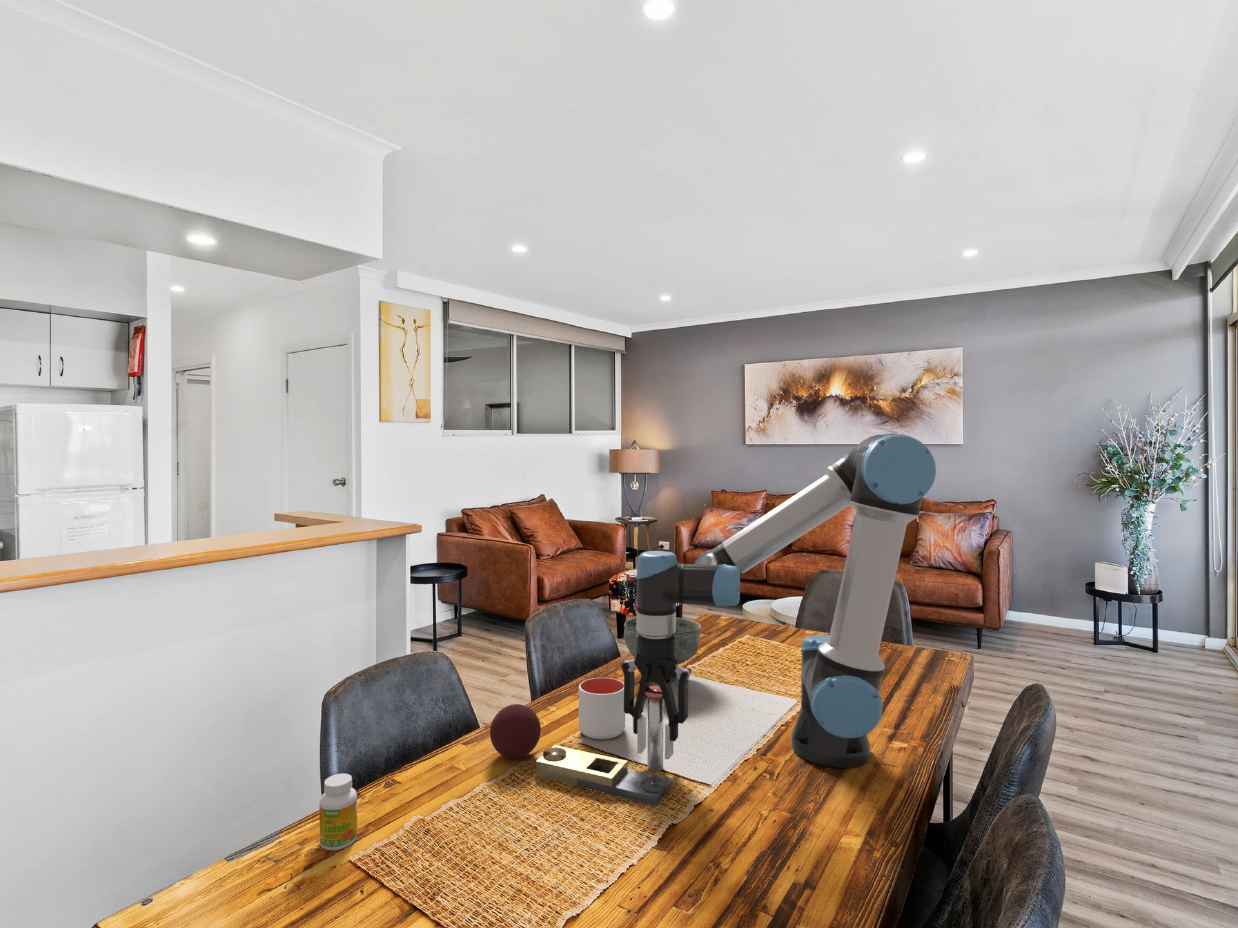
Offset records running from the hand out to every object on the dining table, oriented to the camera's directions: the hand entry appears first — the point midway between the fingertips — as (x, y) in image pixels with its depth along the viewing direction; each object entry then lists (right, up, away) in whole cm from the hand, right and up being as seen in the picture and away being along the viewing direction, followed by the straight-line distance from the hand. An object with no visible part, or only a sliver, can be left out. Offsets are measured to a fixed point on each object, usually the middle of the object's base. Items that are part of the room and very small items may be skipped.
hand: (655, 752), depth 126 cm
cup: (-11, -2, +16) cm, 19 cm away
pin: (0, -3, 0) cm, 3 cm away
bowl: (+4, -1, +47) cm, 48 cm away
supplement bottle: (-51, -4, -23) cm, 56 cm away
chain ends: (-10, -3, -5) cm, 12 cm away
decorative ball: (-28, -3, +5) cm, 28 cm away
